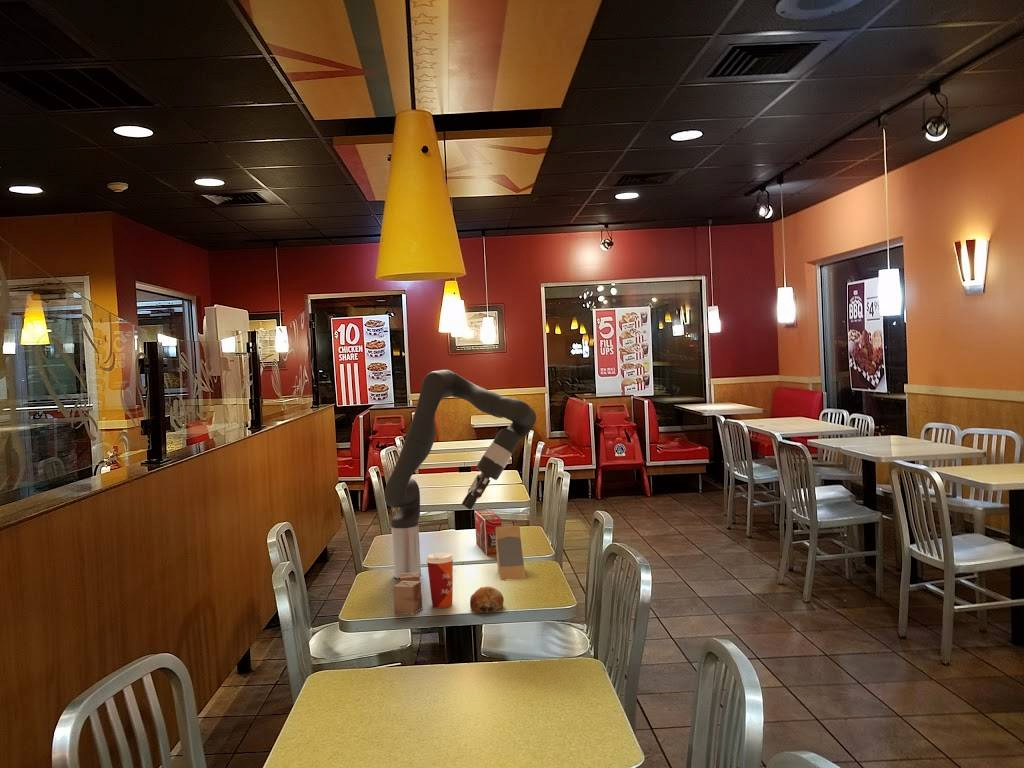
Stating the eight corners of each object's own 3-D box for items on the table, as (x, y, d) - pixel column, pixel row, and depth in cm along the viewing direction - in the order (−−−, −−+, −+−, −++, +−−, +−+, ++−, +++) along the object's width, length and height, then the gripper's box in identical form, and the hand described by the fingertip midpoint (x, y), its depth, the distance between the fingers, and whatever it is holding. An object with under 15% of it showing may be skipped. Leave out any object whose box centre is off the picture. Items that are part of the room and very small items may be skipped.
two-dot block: (401, 598, 255) (399, 572, 254) (420, 597, 255) (419, 571, 255) (401, 604, 249) (399, 577, 248) (420, 602, 249) (419, 576, 249)
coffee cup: (451, 609, 240) (449, 558, 240) (424, 609, 242) (422, 558, 242) (459, 601, 249) (456, 551, 248) (433, 600, 250) (430, 551, 250)
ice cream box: (476, 544, 325) (474, 511, 325) (492, 542, 327) (490, 509, 326) (486, 555, 306) (484, 520, 306) (502, 553, 307) (501, 518, 307)
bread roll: (507, 618, 241) (511, 590, 244) (492, 613, 233) (496, 584, 236) (477, 615, 246) (481, 588, 248) (462, 610, 237) (466, 582, 240)
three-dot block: (403, 607, 246) (402, 580, 245) (422, 608, 244) (420, 580, 243) (394, 613, 240) (393, 585, 240) (413, 614, 238) (412, 586, 238)
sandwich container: (500, 581, 269) (497, 535, 269) (497, 569, 285) (494, 526, 284) (526, 579, 270) (524, 534, 270) (521, 567, 285) (519, 524, 285)
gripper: (480, 454, 257) (453, 498, 254) (486, 454, 242) (457, 502, 240) (501, 466, 257) (473, 511, 255) (508, 468, 243) (479, 515, 241)
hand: (465, 506), depth 247 cm, fingers open, 8 cm apart
